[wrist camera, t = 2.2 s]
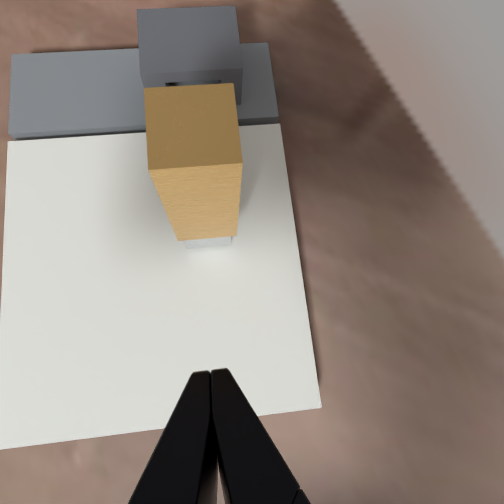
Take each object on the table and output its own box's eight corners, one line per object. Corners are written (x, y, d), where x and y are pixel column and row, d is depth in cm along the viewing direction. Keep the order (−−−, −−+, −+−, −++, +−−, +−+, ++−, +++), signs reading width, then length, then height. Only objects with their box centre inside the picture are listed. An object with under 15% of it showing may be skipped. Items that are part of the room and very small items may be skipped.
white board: (315, 404, 22) (338, 416, 17) (11, 443, 21) (-50, 468, 16) (265, 58, 27) (273, -1, 23) (23, 71, 26) (-20, 11, 22)
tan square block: (235, 244, 22) (242, 163, 13) (181, 249, 22) (148, 170, 13) (223, 131, 24) (222, -12, 15) (173, 135, 24) (138, -9, 14)
